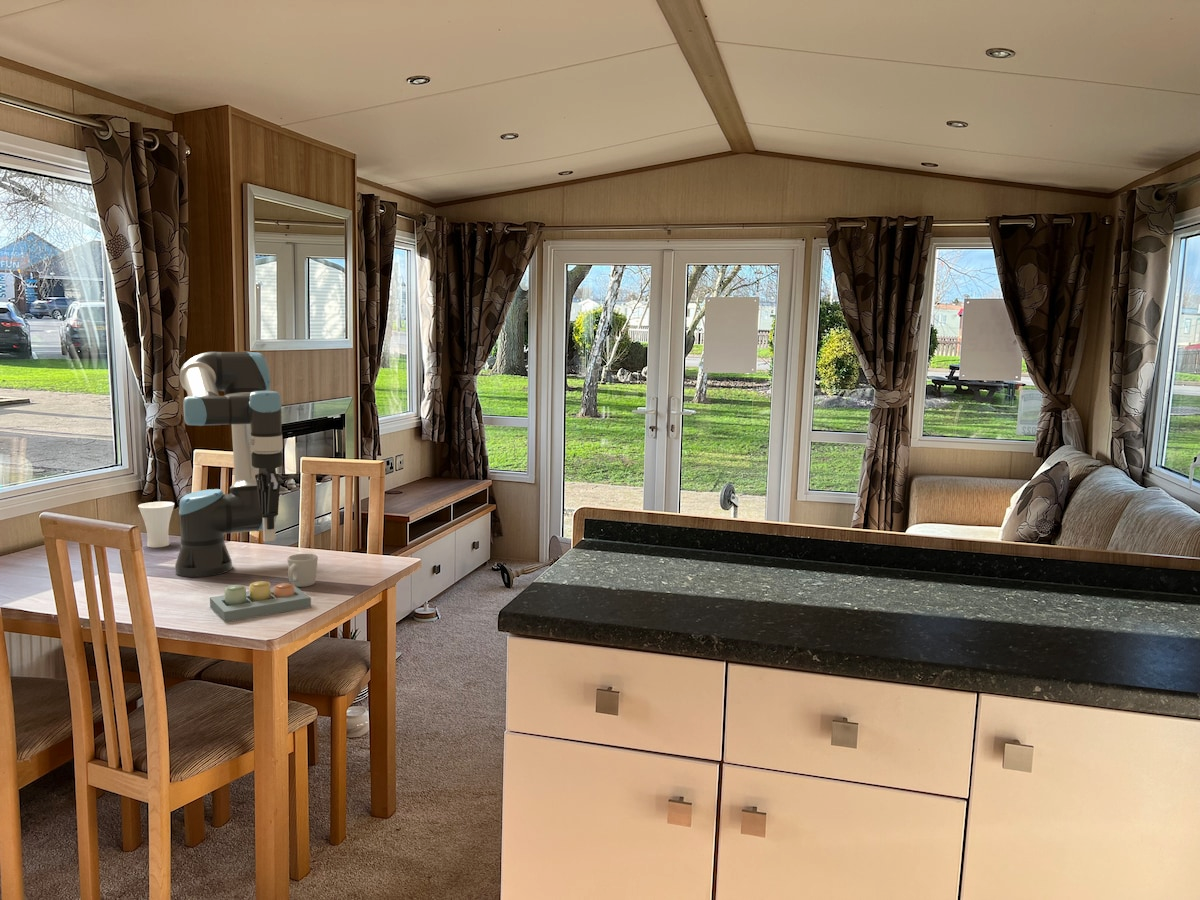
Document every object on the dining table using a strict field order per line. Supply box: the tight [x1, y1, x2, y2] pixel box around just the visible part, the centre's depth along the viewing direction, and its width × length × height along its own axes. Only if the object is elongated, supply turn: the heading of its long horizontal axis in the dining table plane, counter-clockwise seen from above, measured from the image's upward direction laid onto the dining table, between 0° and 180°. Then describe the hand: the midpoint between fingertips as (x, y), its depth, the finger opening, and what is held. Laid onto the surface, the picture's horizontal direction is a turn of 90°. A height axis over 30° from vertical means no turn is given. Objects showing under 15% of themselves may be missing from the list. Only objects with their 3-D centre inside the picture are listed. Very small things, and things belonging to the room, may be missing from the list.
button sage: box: [224, 584, 247, 606], centre depth 219 cm, size 5×5×4 cm
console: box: [209, 586, 312, 623], centre depth 223 cm, size 14×21×3 cm, turn 127°
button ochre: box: [249, 580, 272, 602], centre depth 223 cm, size 5×5×4 cm
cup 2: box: [287, 553, 319, 588], centre depth 242 cm, size 11×8×8 cm
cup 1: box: [138, 501, 175, 548], centre depth 283 cm, size 10×10×14 cm
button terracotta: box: [273, 582, 294, 598], centre depth 227 cm, size 5×5×4 cm
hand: (269, 540), depth 228 cm, fingers closed
